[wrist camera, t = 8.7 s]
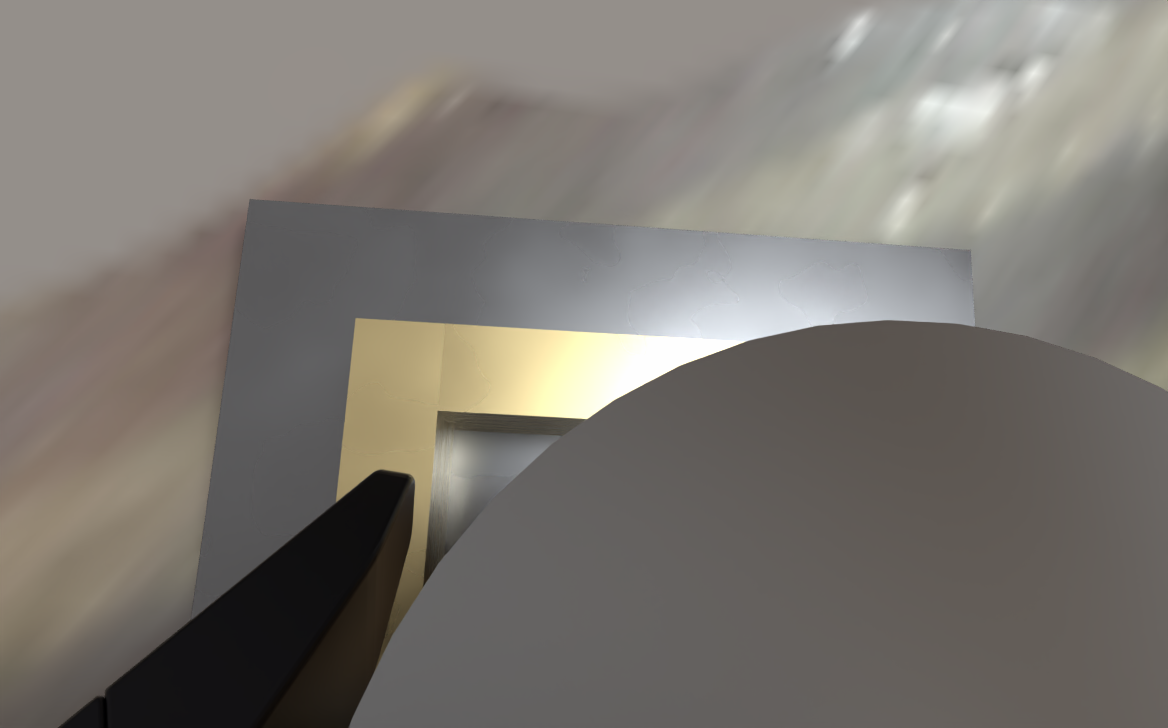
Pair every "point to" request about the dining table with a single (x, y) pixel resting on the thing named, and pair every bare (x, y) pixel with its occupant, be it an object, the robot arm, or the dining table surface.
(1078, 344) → the dining table surface
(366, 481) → the robot arm
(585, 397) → the socket
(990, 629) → the tan cylinder
